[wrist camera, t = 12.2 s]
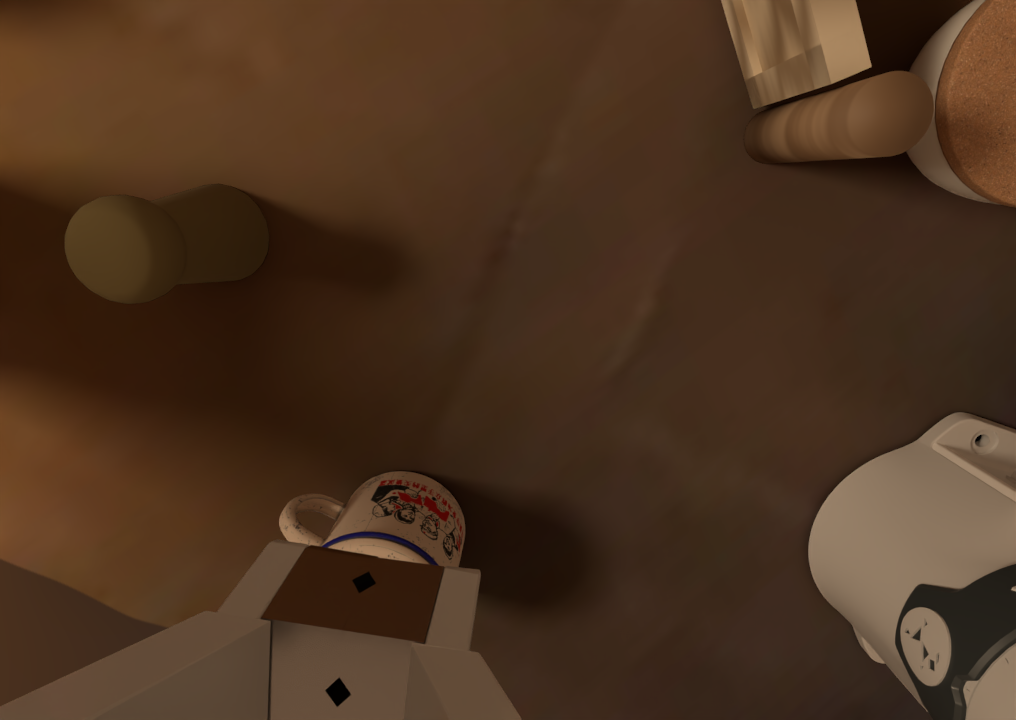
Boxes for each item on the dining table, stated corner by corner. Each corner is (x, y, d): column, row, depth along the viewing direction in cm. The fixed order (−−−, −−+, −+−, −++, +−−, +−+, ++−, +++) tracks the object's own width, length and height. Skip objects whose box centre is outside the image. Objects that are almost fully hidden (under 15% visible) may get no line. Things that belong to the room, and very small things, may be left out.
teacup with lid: (494, 509, 44) (476, 624, 32) (427, 600, 46) (390, 735, 35) (345, 419, 42) (274, 506, 31) (285, 516, 45) (198, 630, 33)
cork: (155, 218, 39) (11, 233, 29) (227, 163, 38) (105, 158, 27) (217, 299, 40) (101, 342, 30) (288, 248, 39) (194, 274, 29)
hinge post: (803, 111, 35) (945, 76, 23) (789, 167, 36) (918, 161, 24) (750, 104, 35) (863, 65, 23) (738, 159, 36) (840, 150, 24)
